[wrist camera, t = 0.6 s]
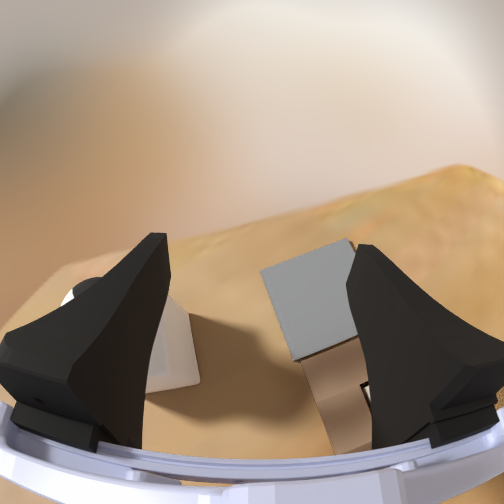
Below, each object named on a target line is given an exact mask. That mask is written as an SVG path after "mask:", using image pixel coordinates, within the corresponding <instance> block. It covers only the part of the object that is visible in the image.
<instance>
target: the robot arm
mask: <svg viewBox="0 0 504 504" xmlns="http://www.w3.org/2000/svg"><path fill="white" fill-rule="evenodd" d="M170 279H171V271H170V263H169V253H168V244H167V234H166V233H150V234H149V235H147V236H146V237H145V238H144V239H143V240H142V241H141V242H140V243H139V244H138V245H137V246H136V247H135V248H134V249H133V250H132V251H131V252H130V253H129V254H128V255H127V256H125V257H124V258H123V259H122V260H121V261H120V262H119V263H118V264H117V265H116V266H115V267H113V268H112V269H111V270H110V271H109V272H108V273H106V274H105V275H104V276H103V277H102V278H101V279H99V280H98V281H97V282H96V283H94V284H93V285H92V286H91V287H89V288H88V289H86V290H85V291H84V292H82V293H81V294H80V295H78V296H77V297H75V298H73V299H72V300H70V301H69V302H67V303H65V304H64V305H62V306H61V307H59V308H58V309H56V310H54V311H52V312H50V313H49V314H47V315H45V316H43V317H41V318H39V319H37V320H35V321H33V322H31V323H29V324H27V325H24V326H22V327H20V328H17V329H15V330H13V331H10V332H7V333H6V334H5V336H4V338H3V340H2V342H1V344H0V384H1V385H2V386H3V387H4V388H5V389H6V390H7V391H8V392H9V394H10V395H11V396H12V397H13V398H14V399H15V400H16V401H17V402H16V404H15V407H14V408H13V407H11V406H10V405H8V404H6V403H4V402H2V401H0V476H1V477H3V478H4V479H6V480H8V481H10V482H12V483H14V484H16V485H18V486H20V487H22V488H24V489H26V490H28V491H31V492H33V493H35V494H37V495H40V496H42V497H44V498H47V499H49V500H51V501H54V502H56V503H59V504H438V503H440V502H443V501H445V500H448V499H450V498H452V497H455V496H457V495H459V494H462V493H464V492H466V491H468V490H470V489H472V488H475V487H477V486H479V485H481V484H483V483H485V482H487V481H488V480H490V479H492V478H494V477H496V476H498V475H500V474H501V473H503V472H504V407H502V408H500V409H498V410H497V411H496V409H495V407H494V404H496V403H497V402H498V399H497V397H496V393H497V392H498V391H499V390H500V389H501V388H502V387H503V386H504V342H503V341H501V340H499V339H496V338H494V337H492V336H490V335H488V334H486V333H484V332H482V331H481V330H479V329H477V328H475V327H473V326H472V325H470V324H468V323H467V322H465V321H464V320H462V319H461V318H459V317H458V316H456V315H454V314H453V313H452V312H450V311H449V310H447V309H446V308H445V307H443V306H442V305H441V304H439V303H438V302H437V301H436V300H434V299H433V298H432V297H431V296H429V295H428V294H427V293H426V292H425V291H423V290H422V289H421V288H420V287H419V286H418V285H417V284H415V283H414V282H413V281H412V280H411V279H410V278H409V277H408V276H407V275H406V274H405V273H403V272H402V271H401V270H400V269H399V268H398V267H397V266H396V265H395V264H394V263H393V262H392V261H391V260H390V259H389V258H388V257H386V256H385V255H384V254H383V253H382V252H381V251H380V250H379V249H377V248H376V247H375V246H374V245H365V244H359V245H358V248H357V251H356V254H355V257H354V261H353V264H352V267H351V270H350V273H349V276H348V278H347V281H346V290H347V296H348V302H349V307H350V310H351V314H352V317H353V320H354V323H355V327H356V330H357V333H358V337H359V340H360V343H361V347H362V350H363V354H364V358H365V362H366V369H367V375H368V382H369V391H370V401H371V418H372V450H369V451H363V452H357V453H349V454H342V455H333V456H323V457H311V458H296V459H266V460H251V459H220V458H205V457H193V456H184V455H175V454H167V453H160V452H153V451H147V450H142V428H143V413H144V401H145V392H146V384H147V376H148V369H149V363H150V357H151V352H152V348H153V344H154V341H155V337H156V334H157V331H158V327H159V324H160V321H161V317H162V314H163V311H164V307H165V304H166V301H167V296H168V291H169V285H170ZM175 479H177V480H175ZM179 480H186V481H196V482H208V483H225V484H239V485H233V486H230V487H206V486H182V485H181V482H180V481H179Z"/></svg>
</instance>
